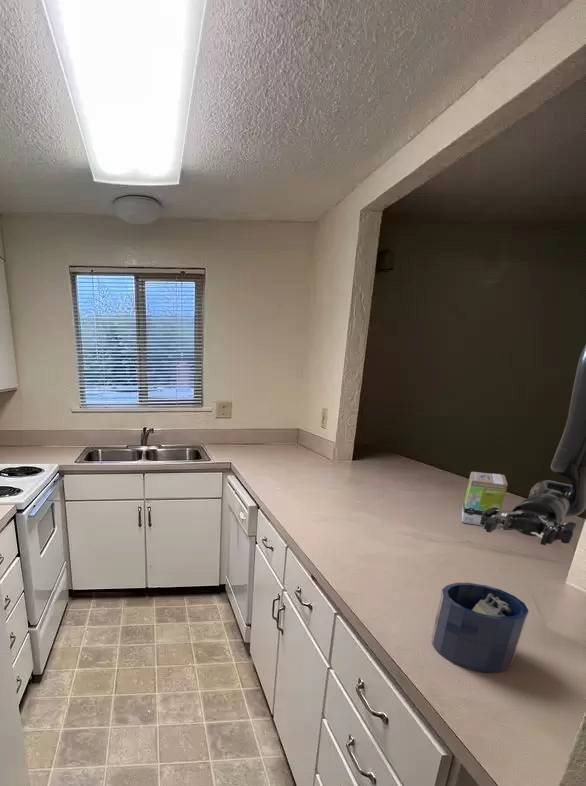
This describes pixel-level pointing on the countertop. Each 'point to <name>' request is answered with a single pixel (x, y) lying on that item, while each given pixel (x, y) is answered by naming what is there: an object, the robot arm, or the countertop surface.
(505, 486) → the tea box
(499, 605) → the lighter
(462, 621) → the pot
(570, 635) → the countertop surface
